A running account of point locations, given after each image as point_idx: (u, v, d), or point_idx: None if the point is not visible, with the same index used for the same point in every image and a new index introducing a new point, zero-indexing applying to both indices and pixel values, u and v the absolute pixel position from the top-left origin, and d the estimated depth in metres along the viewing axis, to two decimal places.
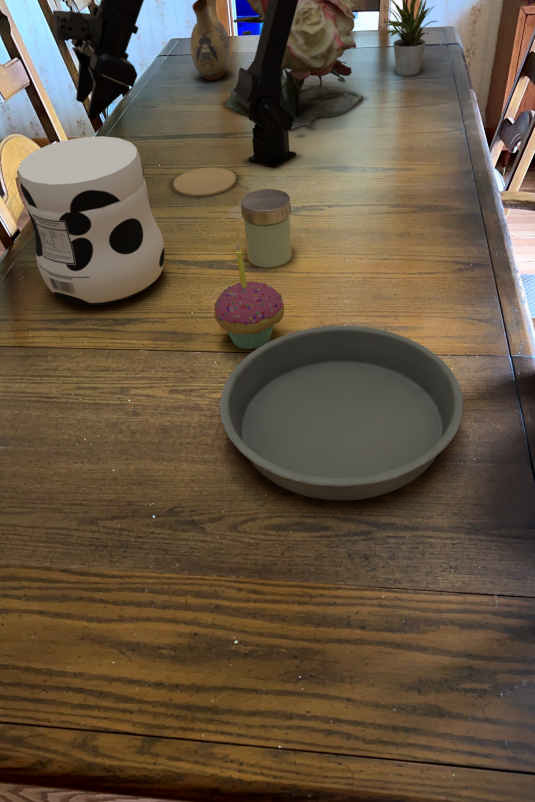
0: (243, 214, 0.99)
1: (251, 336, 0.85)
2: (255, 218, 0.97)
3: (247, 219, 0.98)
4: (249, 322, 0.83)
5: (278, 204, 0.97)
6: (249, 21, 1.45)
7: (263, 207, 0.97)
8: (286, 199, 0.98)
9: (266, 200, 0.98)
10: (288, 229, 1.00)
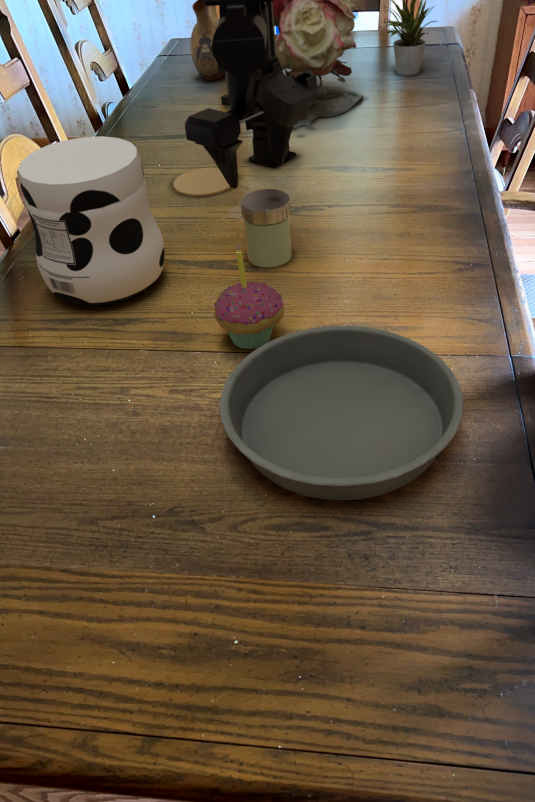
0: (243, 214, 0.99)
1: (251, 336, 0.85)
2: (255, 218, 0.97)
3: (247, 219, 0.98)
4: (249, 322, 0.83)
5: (278, 204, 0.97)
6: None
7: (263, 207, 0.97)
8: (286, 199, 0.98)
9: (266, 200, 0.98)
10: (288, 229, 1.00)
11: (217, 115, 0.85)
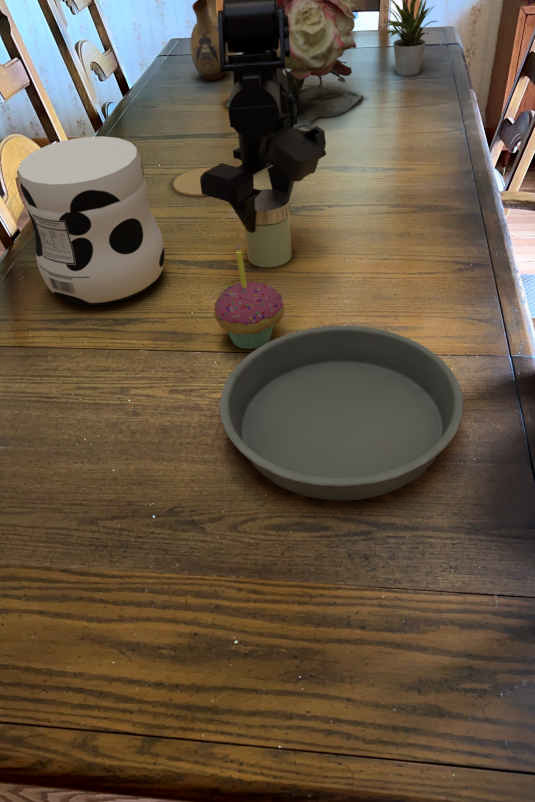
0: None
1: (251, 336, 0.85)
2: (255, 218, 0.97)
3: None
4: (249, 322, 0.83)
5: (278, 204, 0.97)
6: None
7: (263, 207, 0.97)
8: (286, 199, 0.98)
9: (266, 200, 0.98)
10: (288, 229, 1.00)
11: (232, 172, 0.90)
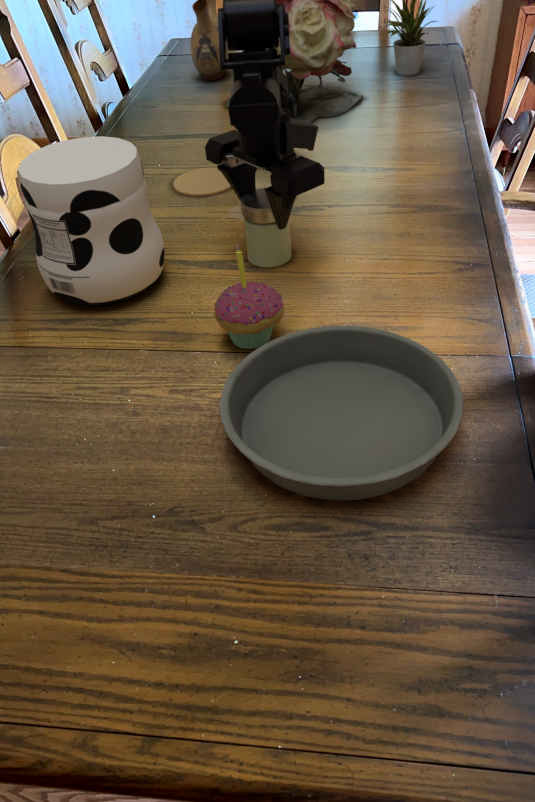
0: (270, 217, 0.97)
1: (251, 336, 0.85)
2: None
3: None
4: (249, 322, 0.83)
5: None
6: None
7: None
8: None
9: None
10: (288, 229, 1.00)
11: (301, 161, 0.90)
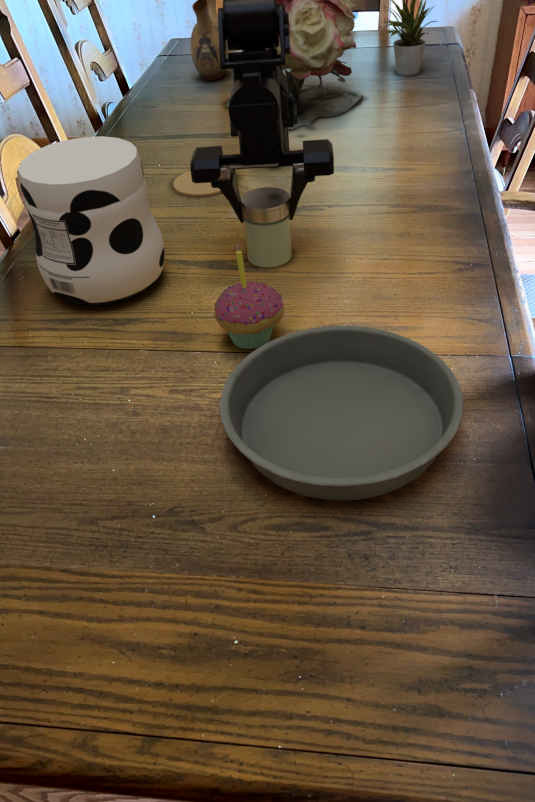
0: (286, 211, 0.98)
1: (251, 336, 0.85)
2: None
3: (289, 209, 0.99)
4: (249, 322, 0.83)
5: (266, 189, 1.00)
6: None
7: (279, 192, 0.99)
8: (254, 190, 1.00)
9: (265, 196, 0.98)
10: (288, 229, 1.00)
11: (313, 143, 0.94)
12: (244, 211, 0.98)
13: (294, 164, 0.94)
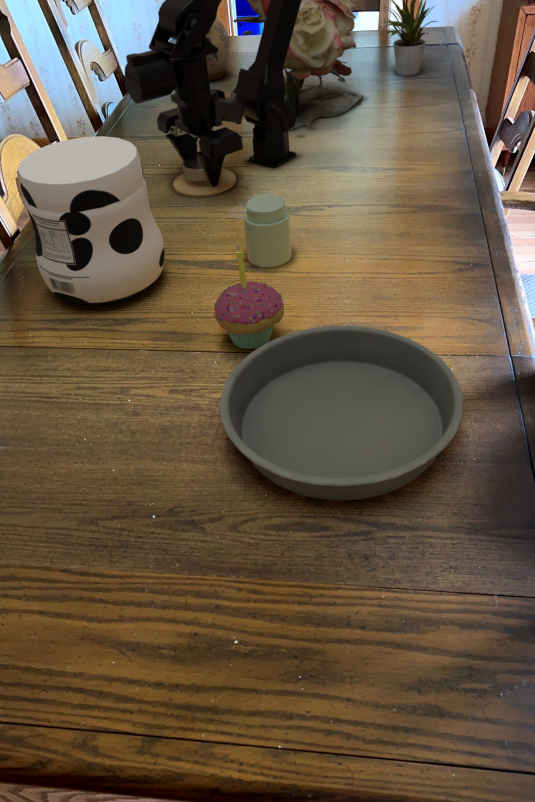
0: (203, 176, 1.21)
1: (251, 336, 0.85)
2: None
3: None
4: (249, 322, 0.83)
5: None
6: (249, 21, 1.45)
7: None
8: None
9: None
10: (288, 229, 1.00)
11: (223, 131, 1.14)
12: None
13: None
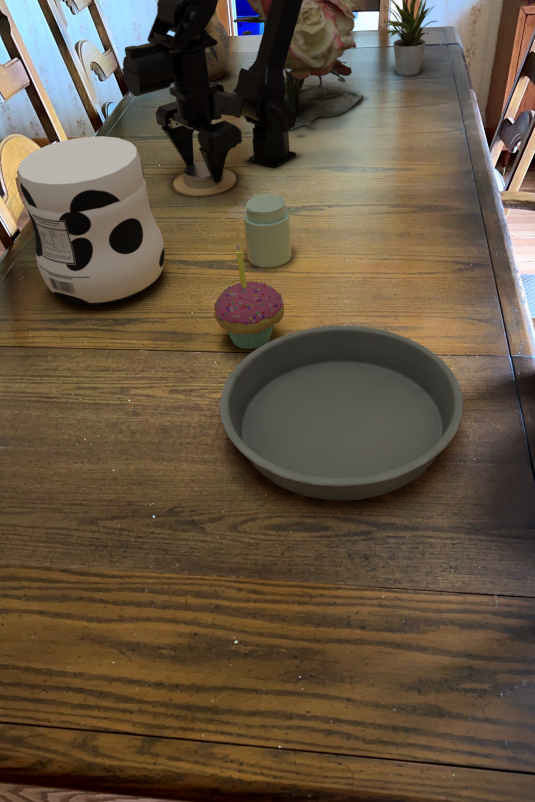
0: (204, 184, 1.22)
1: (251, 336, 0.85)
2: None
3: (211, 185, 1.22)
4: (249, 322, 0.83)
5: None
6: (249, 21, 1.45)
7: None
8: None
9: (204, 168, 1.24)
10: (288, 229, 1.00)
11: (222, 124, 1.14)
12: None
13: None
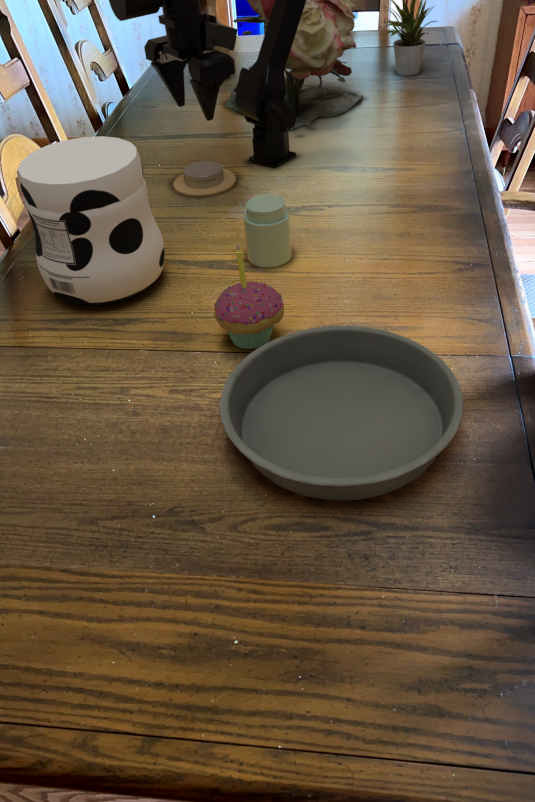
0: (204, 184, 1.22)
1: (251, 336, 0.85)
2: (217, 179, 1.23)
3: (211, 185, 1.22)
4: (249, 322, 0.83)
5: (215, 164, 1.25)
6: (249, 21, 1.45)
7: (215, 170, 1.23)
8: (210, 162, 1.26)
9: (204, 168, 1.24)
10: (288, 229, 1.00)
11: (214, 54, 1.07)
12: None
13: None
